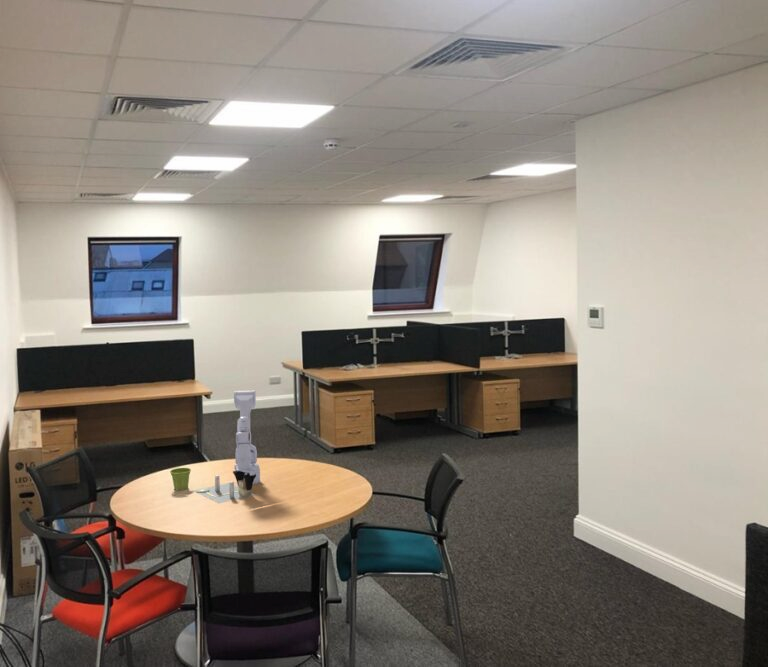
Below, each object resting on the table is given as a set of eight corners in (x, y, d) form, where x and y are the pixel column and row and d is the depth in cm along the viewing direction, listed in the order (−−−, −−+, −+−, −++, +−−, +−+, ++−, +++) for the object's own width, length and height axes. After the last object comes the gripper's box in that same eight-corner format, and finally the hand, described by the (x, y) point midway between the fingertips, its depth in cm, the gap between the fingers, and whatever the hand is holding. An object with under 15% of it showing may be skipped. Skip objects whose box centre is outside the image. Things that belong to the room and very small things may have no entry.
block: (246, 492, 328) (246, 479, 327) (251, 494, 324) (250, 480, 324) (238, 493, 325) (238, 480, 324) (243, 495, 322) (242, 482, 321)
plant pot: (175, 493, 329) (175, 474, 329) (167, 488, 337) (166, 470, 336) (195, 489, 335) (194, 470, 335) (186, 484, 343) (185, 466, 342)
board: (228, 484, 342) (228, 468, 342) (255, 496, 324) (255, 479, 323) (193, 491, 331) (192, 475, 330) (218, 504, 312) (218, 487, 311)
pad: (205, 488, 334) (205, 487, 334) (211, 491, 330) (211, 490, 330) (193, 490, 330) (193, 489, 330) (199, 493, 326) (199, 492, 326)
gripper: (228, 456, 326) (228, 486, 327) (244, 462, 315) (244, 493, 316) (242, 454, 331) (242, 483, 332) (258, 459, 320) (259, 490, 321)
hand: (244, 488), depth 324 cm, fingers open, 7 cm apart
